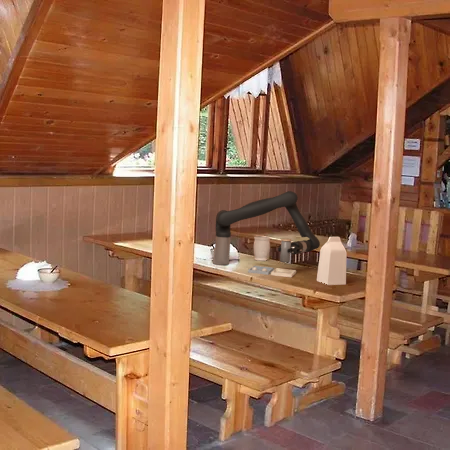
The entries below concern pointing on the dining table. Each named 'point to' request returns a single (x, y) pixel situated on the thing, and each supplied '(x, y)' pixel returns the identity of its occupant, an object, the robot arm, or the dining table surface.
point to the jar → (261, 248)
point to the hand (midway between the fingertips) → (283, 250)
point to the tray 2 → (283, 272)
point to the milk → (332, 263)
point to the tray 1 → (259, 270)
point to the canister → (285, 250)
